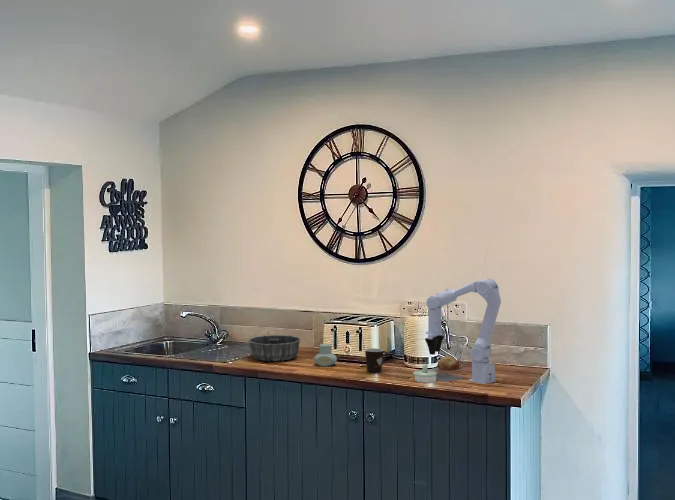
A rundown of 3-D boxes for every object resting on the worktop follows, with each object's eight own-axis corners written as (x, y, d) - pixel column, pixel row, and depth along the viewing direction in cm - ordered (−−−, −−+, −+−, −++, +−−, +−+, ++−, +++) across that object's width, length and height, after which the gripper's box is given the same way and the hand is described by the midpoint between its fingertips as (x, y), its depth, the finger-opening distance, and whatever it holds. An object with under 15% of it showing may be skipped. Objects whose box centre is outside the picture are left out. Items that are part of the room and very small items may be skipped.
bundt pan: (276, 366, 342) (276, 345, 342) (237, 359, 358) (237, 340, 358) (311, 357, 363) (311, 338, 363) (273, 352, 379) (272, 333, 379)
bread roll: (437, 375, 338) (430, 360, 337) (454, 364, 341) (448, 350, 340) (447, 379, 329) (441, 364, 327) (465, 368, 332) (458, 353, 331)
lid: (441, 374, 308) (441, 364, 308) (425, 377, 301) (425, 367, 301) (424, 370, 316) (424, 361, 315) (408, 373, 309) (408, 363, 309)
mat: (465, 379, 313) (465, 378, 313) (445, 382, 306) (445, 381, 306) (445, 374, 322) (445, 373, 322) (426, 377, 315) (426, 376, 315)
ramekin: (440, 382, 308) (440, 374, 307) (425, 385, 302) (425, 377, 302) (426, 378, 315) (426, 371, 315) (410, 381, 310) (410, 373, 309)
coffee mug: (368, 374, 323) (368, 352, 323) (362, 370, 332) (362, 348, 331) (392, 372, 326) (392, 350, 326) (386, 369, 335) (386, 347, 334)
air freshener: (312, 366, 340) (312, 345, 340) (315, 363, 348) (315, 343, 348) (335, 367, 339) (335, 346, 338) (337, 363, 347) (337, 343, 347)
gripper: (430, 320, 327) (430, 349, 328) (421, 324, 314) (421, 355, 314) (445, 321, 324) (445, 350, 325) (436, 325, 311) (436, 356, 312)
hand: (434, 353), depth 319 cm, fingers open, 7 cm apart
